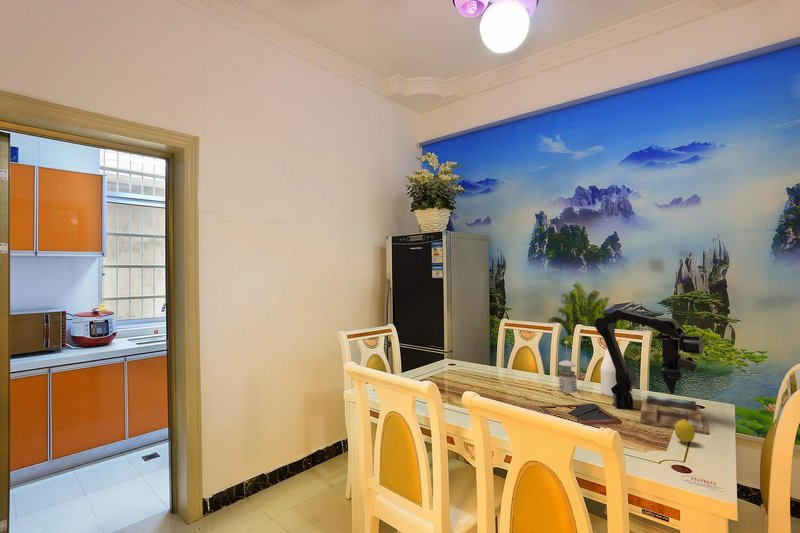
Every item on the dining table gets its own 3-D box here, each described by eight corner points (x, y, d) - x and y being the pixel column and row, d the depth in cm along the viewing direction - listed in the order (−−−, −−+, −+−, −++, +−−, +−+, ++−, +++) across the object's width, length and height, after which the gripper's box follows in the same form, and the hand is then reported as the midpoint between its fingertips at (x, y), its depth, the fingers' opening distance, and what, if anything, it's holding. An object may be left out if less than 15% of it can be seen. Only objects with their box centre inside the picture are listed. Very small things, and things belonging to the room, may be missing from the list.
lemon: (695, 448, 132) (694, 423, 132) (675, 444, 135) (674, 420, 135) (694, 441, 137) (693, 418, 137) (674, 438, 140) (673, 415, 140)
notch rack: (639, 423, 154) (639, 410, 154) (642, 409, 168) (641, 398, 168) (708, 434, 142) (707, 420, 142) (705, 419, 156) (704, 406, 156)
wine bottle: (616, 391, 194) (614, 329, 194) (628, 397, 184) (625, 332, 185) (597, 391, 193) (595, 330, 194) (608, 398, 184) (605, 333, 184)
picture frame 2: (647, 403, 161) (646, 398, 161) (647, 400, 165) (647, 394, 165) (696, 410, 152) (696, 404, 152) (695, 406, 156) (695, 400, 156)
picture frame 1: (594, 407, 174) (538, 410, 173) (594, 402, 174) (538, 405, 173) (622, 425, 154) (558, 428, 153) (621, 420, 154) (558, 423, 153)
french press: (557, 394, 192) (555, 342, 192) (557, 387, 203) (555, 338, 203) (579, 396, 188) (577, 343, 188) (578, 388, 199) (576, 338, 199)
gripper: (696, 357, 146) (698, 400, 146) (694, 348, 161) (696, 386, 161) (660, 354, 152) (662, 395, 152) (661, 346, 168) (663, 383, 167)
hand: (672, 390), depth 158 cm, fingers open, 9 cm apart
